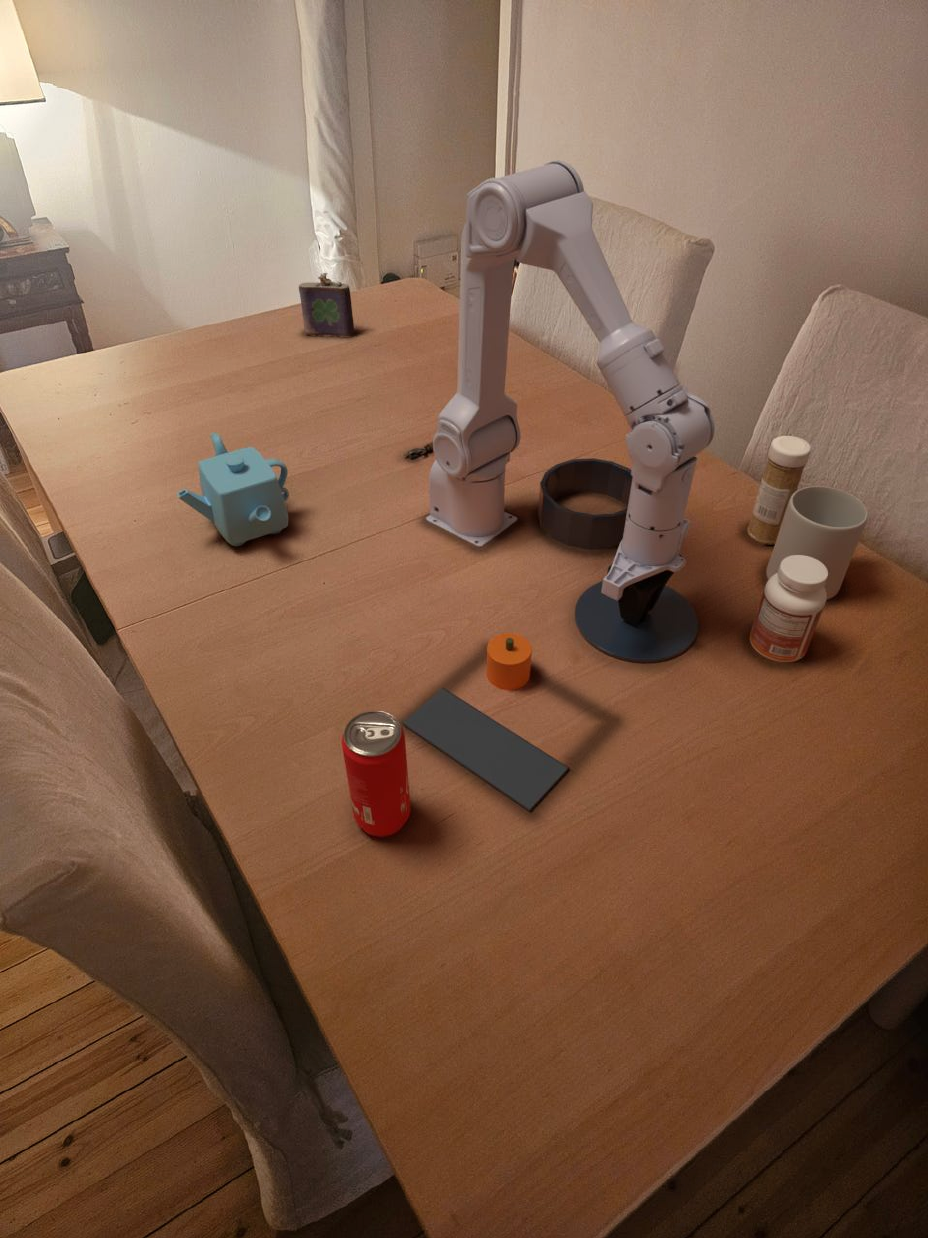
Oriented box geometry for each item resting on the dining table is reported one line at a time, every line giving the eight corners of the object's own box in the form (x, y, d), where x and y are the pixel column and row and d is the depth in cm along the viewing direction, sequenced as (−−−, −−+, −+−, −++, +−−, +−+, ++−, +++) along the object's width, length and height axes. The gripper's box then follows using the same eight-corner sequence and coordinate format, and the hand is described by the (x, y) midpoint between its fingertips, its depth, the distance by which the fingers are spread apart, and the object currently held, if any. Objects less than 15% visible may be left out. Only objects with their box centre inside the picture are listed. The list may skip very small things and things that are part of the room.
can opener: (452, 437, 123) (452, 431, 123) (461, 444, 122) (461, 437, 121) (400, 455, 120) (400, 448, 119) (408, 462, 119) (408, 455, 118)
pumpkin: (477, 676, 87) (478, 641, 84) (504, 653, 90) (506, 618, 86) (512, 697, 85) (514, 662, 81) (538, 672, 88) (541, 638, 84)
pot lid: (550, 628, 93) (553, 597, 90) (615, 569, 101) (620, 539, 98) (656, 686, 87) (663, 655, 83) (718, 618, 94) (726, 587, 91)
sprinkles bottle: (789, 538, 105) (820, 446, 96) (765, 550, 103) (794, 458, 94) (762, 520, 108) (789, 430, 99) (738, 532, 106) (763, 440, 97)
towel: (402, 725, 83) (402, 722, 83) (489, 649, 91) (489, 647, 90) (529, 812, 75) (529, 809, 75) (612, 721, 83) (613, 719, 83)
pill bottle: (779, 620, 94) (806, 543, 86) (818, 654, 90) (850, 577, 82) (736, 636, 92) (760, 559, 85) (773, 672, 88) (802, 595, 80)
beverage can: (354, 794, 77) (341, 710, 69) (410, 790, 77) (403, 706, 69) (353, 843, 73) (339, 760, 65) (412, 838, 73) (405, 755, 65)
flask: (303, 335, 150) (295, 276, 143) (307, 329, 152) (299, 269, 145) (353, 338, 149) (347, 278, 142) (356, 331, 152) (351, 272, 144)
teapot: (320, 545, 104) (310, 478, 98) (213, 582, 99) (194, 514, 92) (269, 478, 116) (256, 413, 109) (170, 508, 111) (151, 442, 104)
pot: (518, 525, 108) (520, 489, 104) (575, 482, 115) (579, 447, 111) (603, 566, 101) (608, 530, 98) (658, 517, 109) (665, 482, 105)
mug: (807, 614, 95) (836, 538, 87) (750, 575, 100) (773, 500, 92) (872, 577, 100) (905, 502, 92) (814, 541, 105) (841, 467, 97)
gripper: (652, 565, 77) (633, 664, 87) (724, 497, 86) (699, 595, 95) (590, 535, 81) (577, 635, 90) (665, 473, 89) (646, 570, 98)
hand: (636, 613), depth 93 cm, fingers closed on pot lid, 2 cm apart
